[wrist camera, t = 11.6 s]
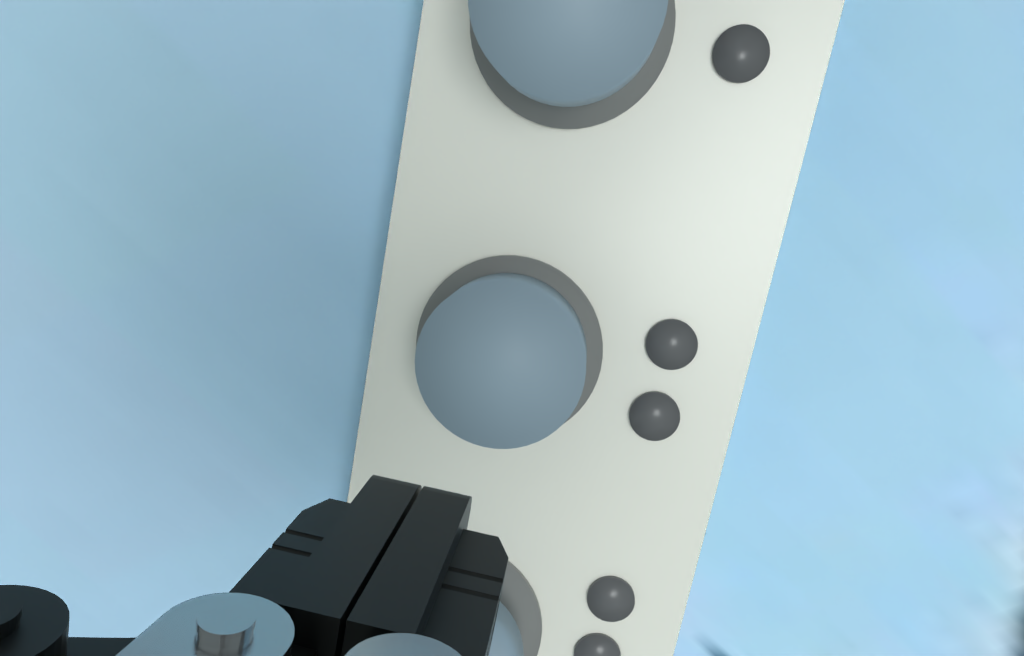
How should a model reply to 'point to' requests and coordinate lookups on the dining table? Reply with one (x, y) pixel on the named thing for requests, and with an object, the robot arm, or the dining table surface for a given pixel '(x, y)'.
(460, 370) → the two-dot button
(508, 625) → the three-dot button
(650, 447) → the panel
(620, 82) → the one-dot button
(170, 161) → the dining table surface
